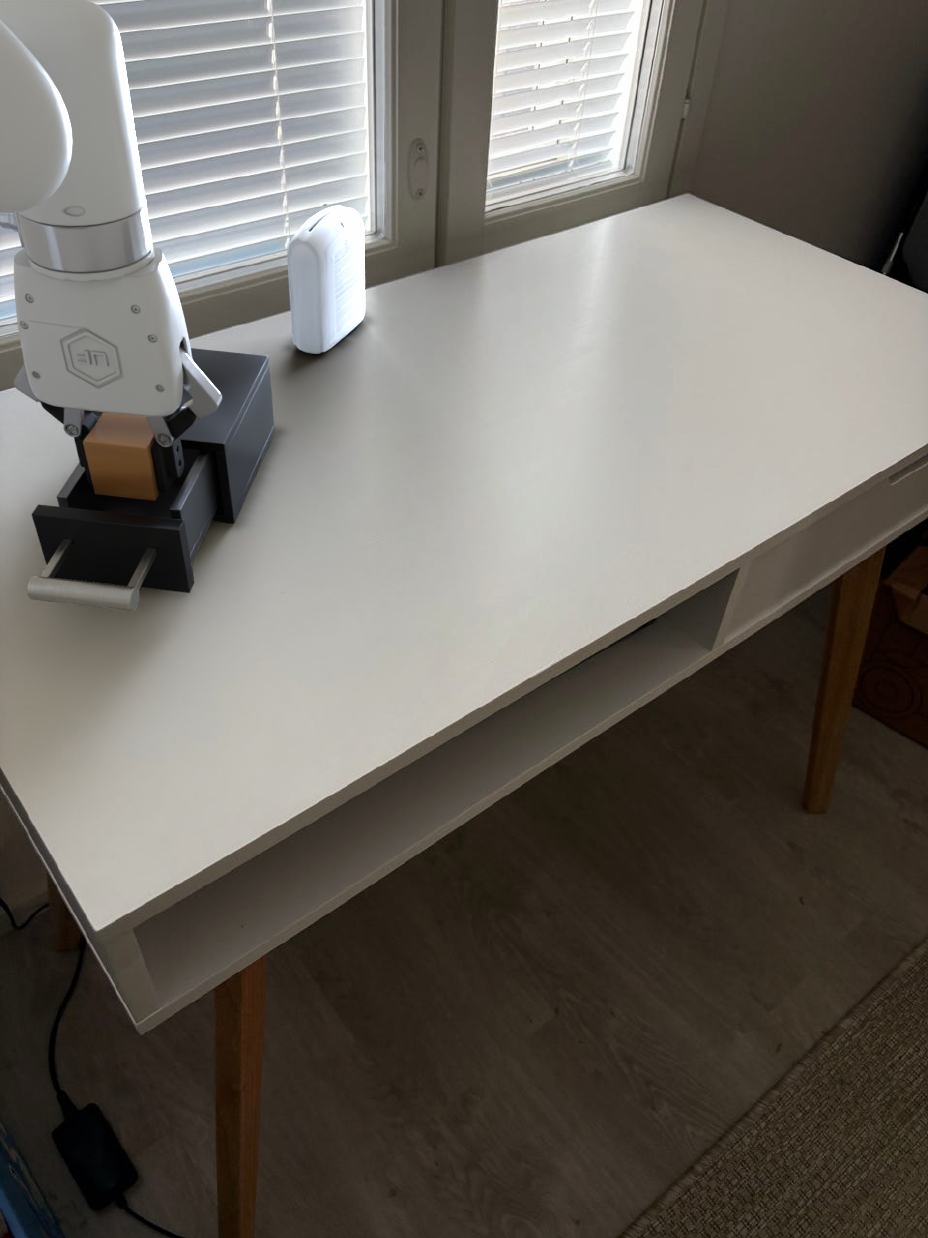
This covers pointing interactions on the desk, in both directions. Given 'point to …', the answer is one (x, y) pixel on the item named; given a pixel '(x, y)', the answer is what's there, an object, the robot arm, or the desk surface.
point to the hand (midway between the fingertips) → (134, 476)
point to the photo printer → (326, 278)
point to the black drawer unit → (233, 423)
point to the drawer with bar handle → (124, 538)
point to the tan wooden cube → (122, 457)
